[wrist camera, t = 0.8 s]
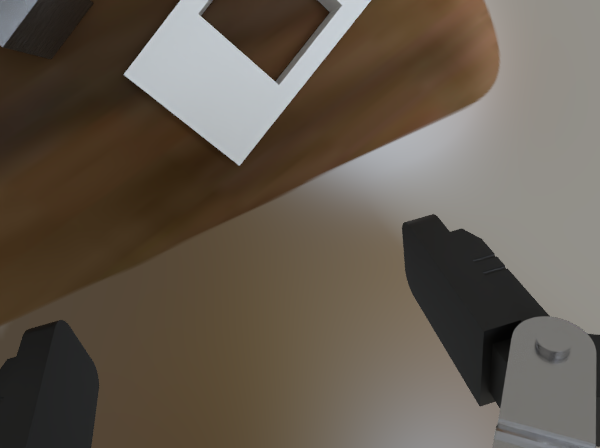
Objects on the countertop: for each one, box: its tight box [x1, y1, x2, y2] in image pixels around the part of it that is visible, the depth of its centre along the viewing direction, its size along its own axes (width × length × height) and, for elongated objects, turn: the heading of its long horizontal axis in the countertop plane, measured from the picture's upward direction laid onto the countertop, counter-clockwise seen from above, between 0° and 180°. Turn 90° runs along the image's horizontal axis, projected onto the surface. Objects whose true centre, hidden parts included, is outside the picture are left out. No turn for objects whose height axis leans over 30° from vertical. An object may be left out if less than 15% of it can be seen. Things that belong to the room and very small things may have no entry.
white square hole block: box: [124, 0, 371, 166], centre depth 33 cm, size 9×18×3 cm, turn 140°
